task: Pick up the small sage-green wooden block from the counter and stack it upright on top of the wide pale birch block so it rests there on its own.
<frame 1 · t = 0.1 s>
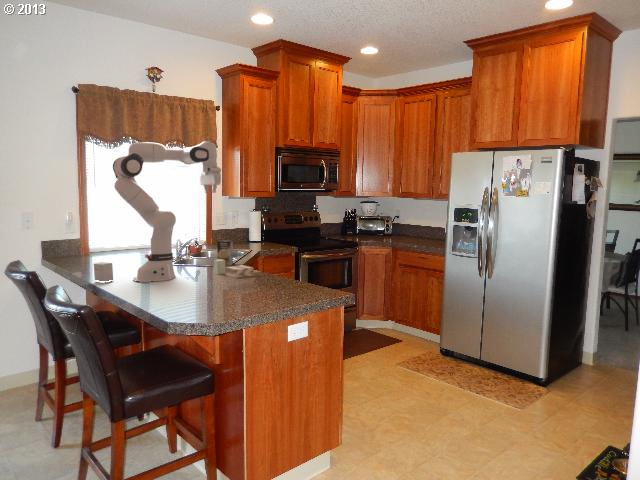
hand: (210, 192, 280), 48 cm above the countertop, tool pointing down, fingers open, 8 cm apart
green block: (219, 273, 281), on the countertop
coffee box: (225, 265, 313), on the countertop
small box: (104, 282, 254), on the countertop
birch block: (239, 275, 274), on the countertop
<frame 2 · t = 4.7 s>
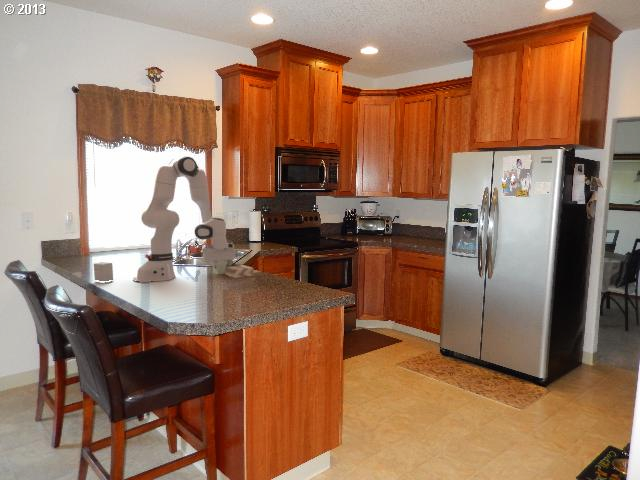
hand: (219, 268, 280), 3 cm above the countertop, tool pointing down, fingers closed on green block, 5 cm apart
green block: (219, 273, 281), on the countertop, touching gripper
everything else where it was.
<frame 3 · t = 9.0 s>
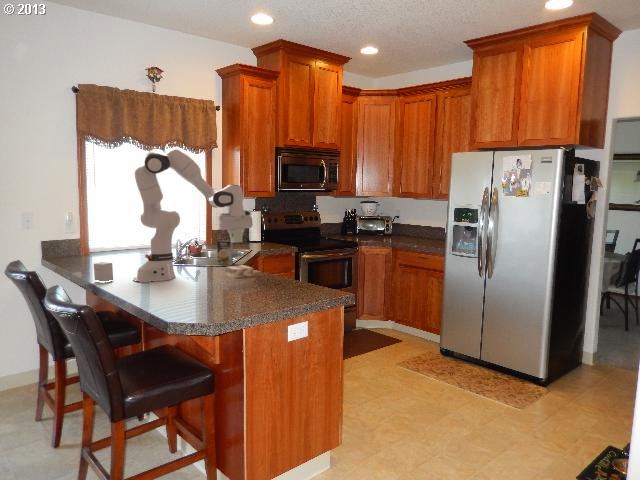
hand: (236, 236, 273), 23 cm above the countertop, tool pointing down, fingers closed on green block, 5 cm apart
green block: (236, 241, 273), point 19 cm above the countertop, touching gripper
everything else where it was.
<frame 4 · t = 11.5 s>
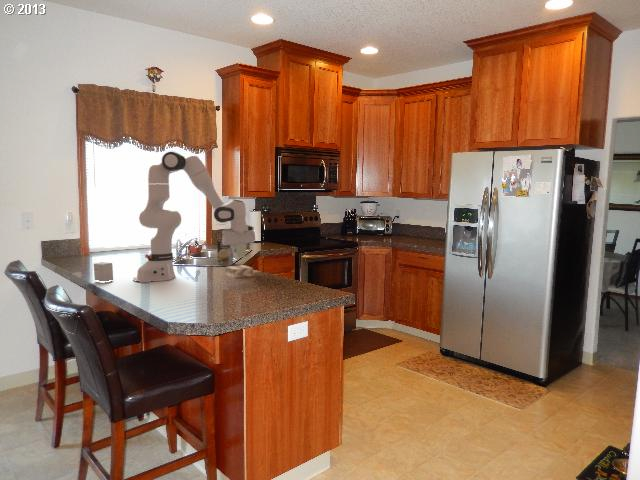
hand: (239, 251, 273), 14 cm above the countertop, tool pointing down, fingers closed on green block, 5 cm apart
green block: (239, 256, 273), point 11 cm above the countertop, touching gripper
everything else where it was.
when the fingers open (10 cm above the countertop, at t = 13.7 s): green block drops 2 cm, point 5 cm above the countertop.
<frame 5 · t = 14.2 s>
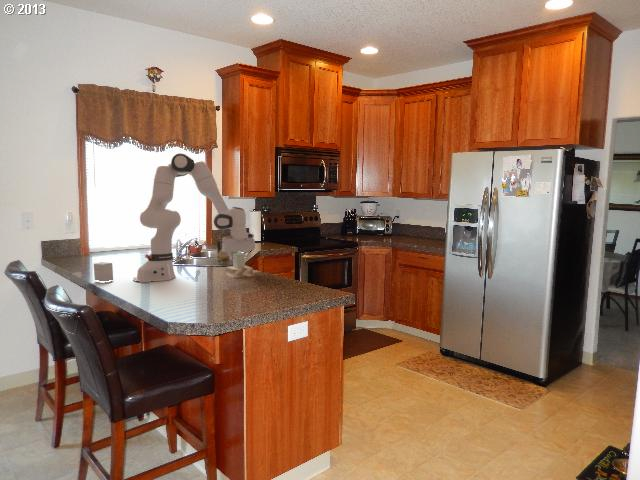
hand: (239, 258, 273), 10 cm above the countertop, tool pointing down, fingers open, 8 cm apart
green block: (239, 267, 274), point 5 cm above the countertop
everything else where it was.
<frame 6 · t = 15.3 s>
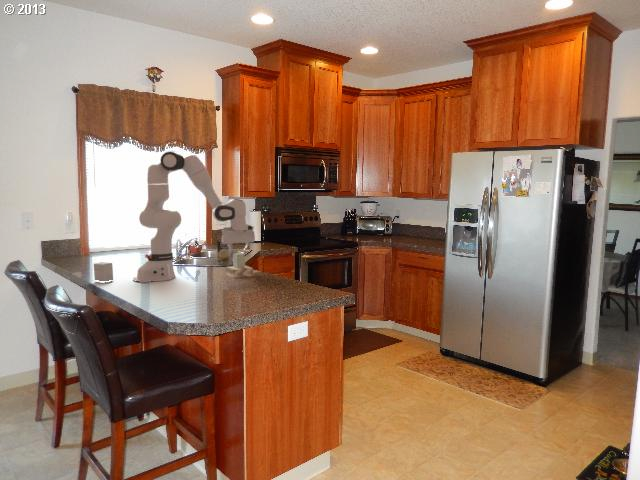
hand: (238, 250, 273), 14 cm above the countertop, tool pointing down, fingers open, 8 cm apart
green block: (239, 267, 274), point 5 cm above the countertop, touching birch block
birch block: (239, 275, 274), on the countertop, touching green block
everything else where it was.
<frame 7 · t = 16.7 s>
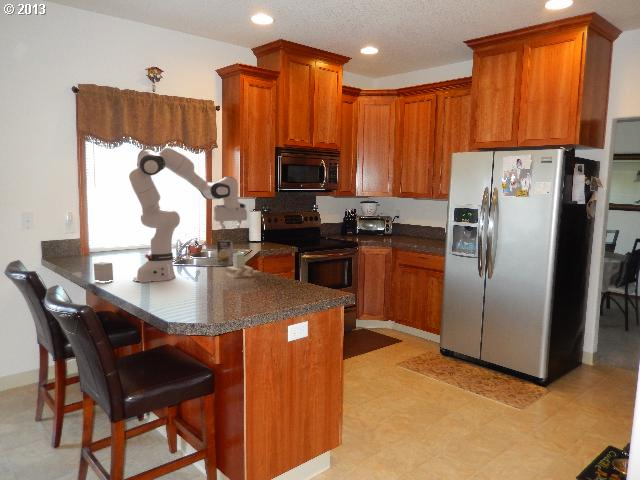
hand: (230, 228, 276), 27 cm above the countertop, tool pointing down, fingers open, 8 cm apart
green block: (239, 267, 274), point 5 cm above the countertop
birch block: (239, 276, 274), on the countertop
everything else where it was.
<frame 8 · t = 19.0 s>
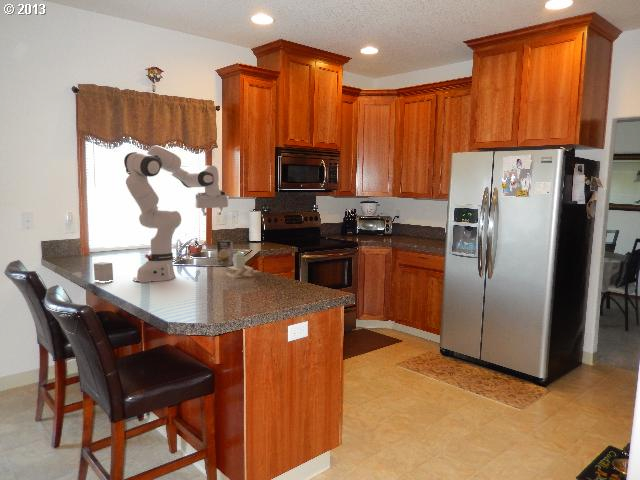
hand: (212, 215, 288), 34 cm above the countertop, tool pointing down, fingers open, 8 cm apart
nothing on the countertop moved.
at the end: green block 0.4 cm off-centre on the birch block, point 5.0 cm above the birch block's base; green block tilted 0°; green block touching nothing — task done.
